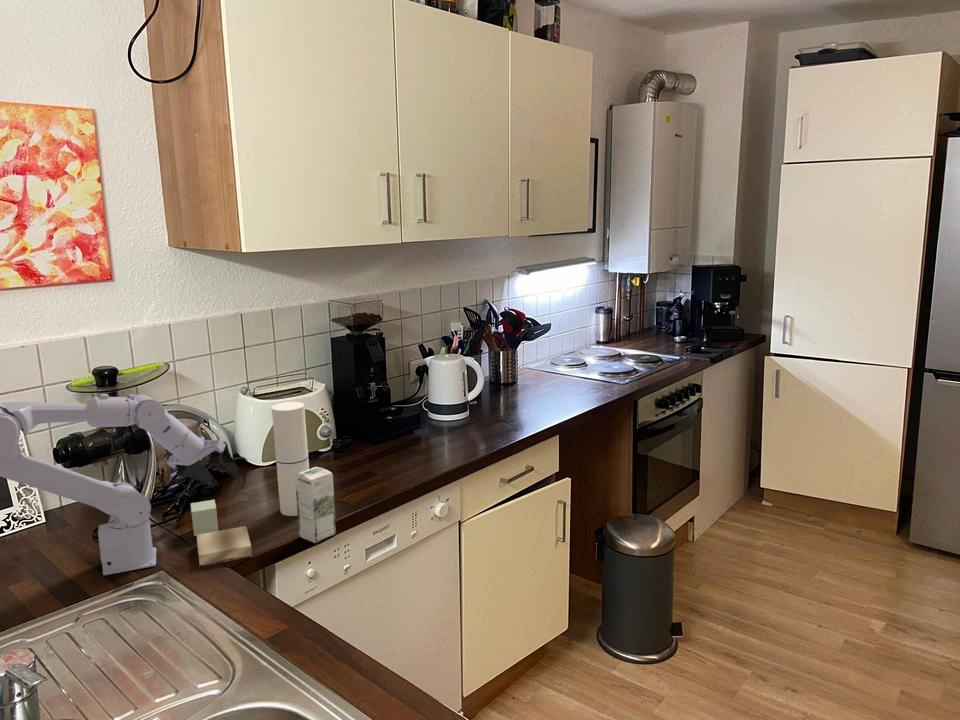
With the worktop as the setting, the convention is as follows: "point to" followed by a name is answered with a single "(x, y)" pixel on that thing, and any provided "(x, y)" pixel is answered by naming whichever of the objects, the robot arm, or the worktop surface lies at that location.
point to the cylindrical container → (289, 451)
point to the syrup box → (315, 504)
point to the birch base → (223, 545)
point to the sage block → (204, 517)
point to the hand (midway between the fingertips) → (223, 476)
